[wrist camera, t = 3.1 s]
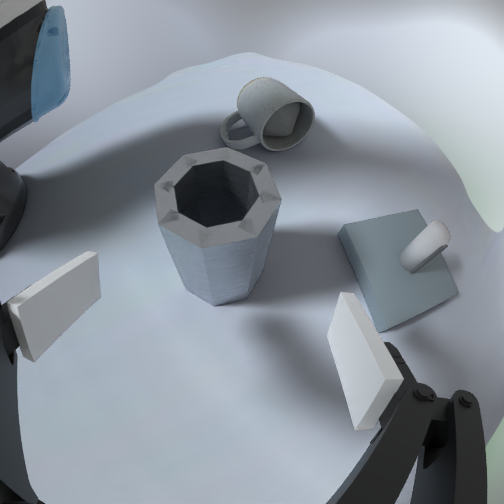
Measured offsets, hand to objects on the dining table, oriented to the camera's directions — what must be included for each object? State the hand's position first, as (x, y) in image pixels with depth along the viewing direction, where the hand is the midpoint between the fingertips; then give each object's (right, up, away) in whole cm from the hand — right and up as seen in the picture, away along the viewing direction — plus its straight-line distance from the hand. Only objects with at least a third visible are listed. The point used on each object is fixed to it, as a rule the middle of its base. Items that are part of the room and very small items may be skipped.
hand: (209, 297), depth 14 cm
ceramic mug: (+3, +17, +21) cm, 27 cm away
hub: (-1, +1, +12) cm, 12 cm away
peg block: (+18, +1, +13) cm, 22 cm away
